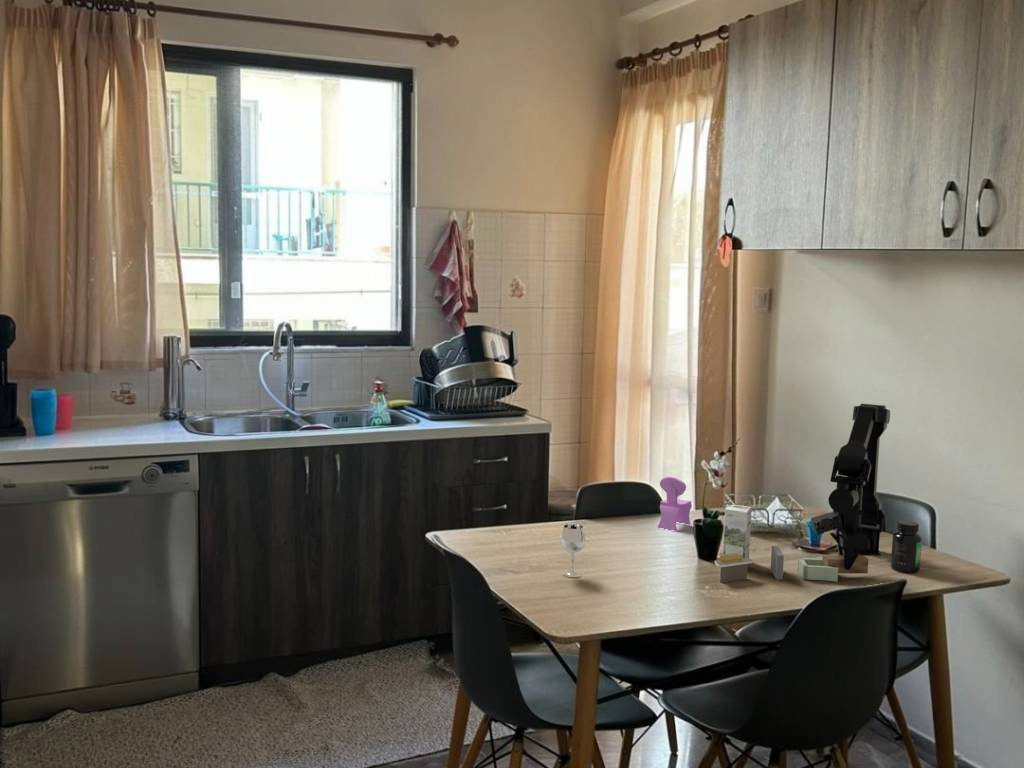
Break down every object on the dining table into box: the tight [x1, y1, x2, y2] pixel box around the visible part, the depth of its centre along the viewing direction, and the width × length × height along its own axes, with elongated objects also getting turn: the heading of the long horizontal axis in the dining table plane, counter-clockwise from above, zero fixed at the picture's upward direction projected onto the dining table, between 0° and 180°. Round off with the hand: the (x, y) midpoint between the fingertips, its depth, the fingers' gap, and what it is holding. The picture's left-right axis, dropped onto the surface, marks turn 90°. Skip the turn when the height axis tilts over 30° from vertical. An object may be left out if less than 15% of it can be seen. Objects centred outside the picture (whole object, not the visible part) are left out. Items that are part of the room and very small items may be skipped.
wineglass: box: [560, 523, 586, 576], centre depth 243 cm, size 6×6×12 cm
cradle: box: [797, 557, 839, 583], centre depth 246 cm, size 8×9×3 cm
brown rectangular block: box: [821, 554, 869, 574], centre depth 245 cm, size 10×4×4 cm, turn 93°
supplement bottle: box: [890, 520, 923, 574], centre depth 253 cm, size 7×7×12 cm
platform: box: [714, 552, 754, 583], centre depth 242 cm, size 12×18×7 cm, turn 116°
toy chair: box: [656, 476, 692, 532], centre depth 289 cm, size 8×9×15 cm
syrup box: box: [722, 504, 753, 559], centre depth 255 cm, size 6×6×14 cm
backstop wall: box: [770, 545, 785, 581], centre depth 247 cm, size 2×8×6 cm, turn 175°
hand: (845, 567), depth 246 cm, fingers closed on brown rectangular block, 4 cm apart
